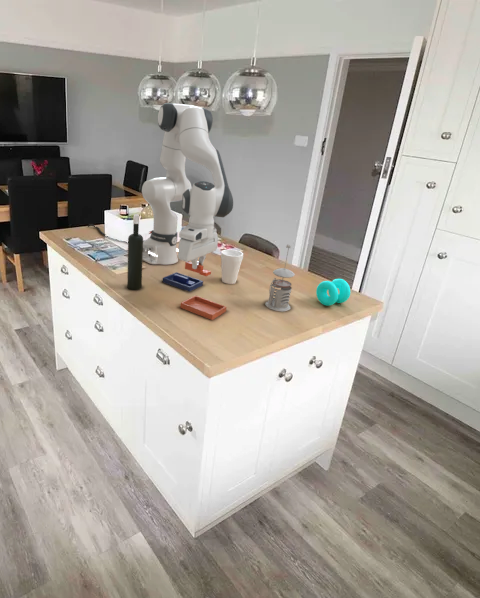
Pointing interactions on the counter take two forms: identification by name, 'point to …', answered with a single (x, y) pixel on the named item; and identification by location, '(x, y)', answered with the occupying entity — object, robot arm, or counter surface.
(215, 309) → the terracotta tray
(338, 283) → the donuts
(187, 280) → the blue stepped block
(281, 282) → the french press
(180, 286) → the navy tray
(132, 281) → the wine bottle
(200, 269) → the orange red stepped block
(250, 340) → the counter surface
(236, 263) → the foam cup
